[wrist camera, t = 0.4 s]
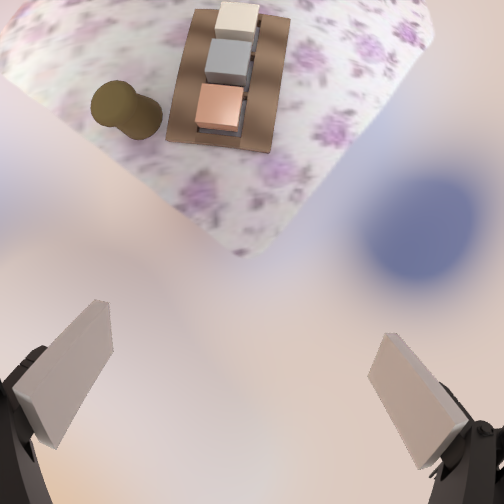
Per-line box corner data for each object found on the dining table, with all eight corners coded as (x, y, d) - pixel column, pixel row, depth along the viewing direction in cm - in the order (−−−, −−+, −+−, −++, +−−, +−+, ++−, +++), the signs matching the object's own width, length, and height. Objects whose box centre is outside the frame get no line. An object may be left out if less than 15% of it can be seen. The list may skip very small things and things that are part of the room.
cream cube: (223, 16, 27) (221, 1, 23) (257, 20, 28) (259, 4, 24) (217, 42, 28) (214, 28, 25) (252, 46, 29) (254, 32, 25)
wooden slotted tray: (197, 15, 29) (195, 8, 27) (288, 25, 30) (290, 18, 28) (169, 141, 34) (165, 139, 32) (268, 153, 35) (270, 151, 33)
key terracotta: (206, 93, 30) (202, 83, 26) (243, 97, 31) (243, 87, 27) (199, 127, 31) (194, 121, 28) (237, 132, 32) (237, 126, 28)
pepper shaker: (167, 99, 33) (140, 73, 22) (157, 142, 34) (125, 130, 24) (127, 96, 32) (90, 73, 22) (117, 138, 34) (76, 127, 23)
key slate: (214, 51, 29) (212, 38, 25) (250, 55, 29) (252, 42, 25) (208, 82, 30) (204, 71, 26) (245, 86, 30) (245, 75, 26)
